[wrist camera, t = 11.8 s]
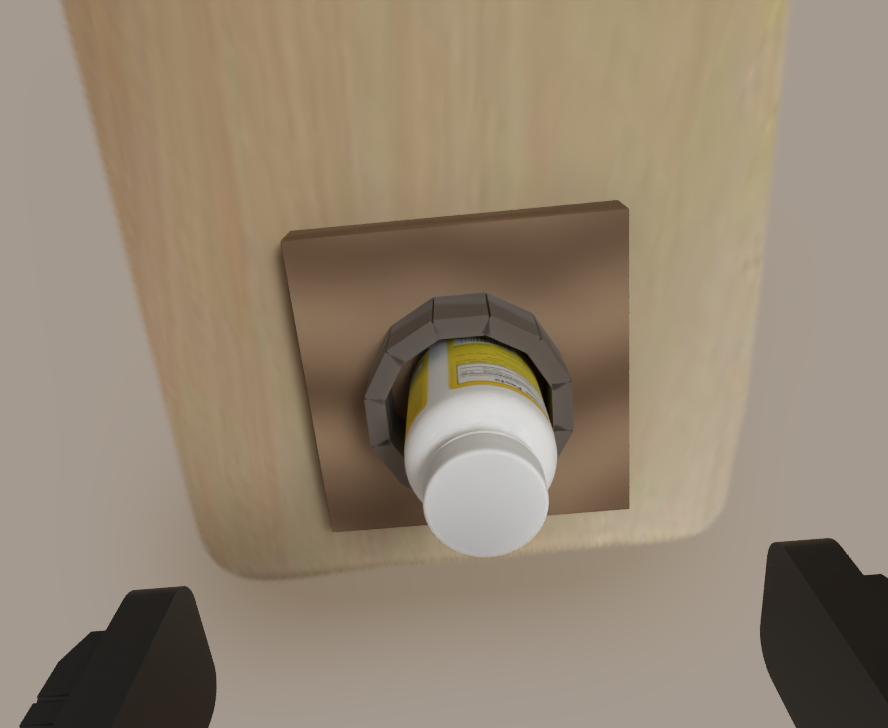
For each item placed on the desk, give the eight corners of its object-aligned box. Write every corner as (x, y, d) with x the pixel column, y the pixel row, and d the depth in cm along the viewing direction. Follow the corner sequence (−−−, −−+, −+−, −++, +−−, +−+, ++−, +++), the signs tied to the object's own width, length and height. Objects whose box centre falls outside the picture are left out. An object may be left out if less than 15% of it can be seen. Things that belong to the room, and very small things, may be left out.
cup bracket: (290, 231, 32) (263, 259, 27) (617, 200, 31) (647, 224, 27) (338, 508, 37) (322, 572, 32) (619, 486, 37) (645, 547, 32)
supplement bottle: (451, 457, 34) (453, 602, 25) (386, 362, 32) (363, 480, 23) (557, 401, 33) (600, 530, 24) (496, 300, 31) (517, 397, 22)
